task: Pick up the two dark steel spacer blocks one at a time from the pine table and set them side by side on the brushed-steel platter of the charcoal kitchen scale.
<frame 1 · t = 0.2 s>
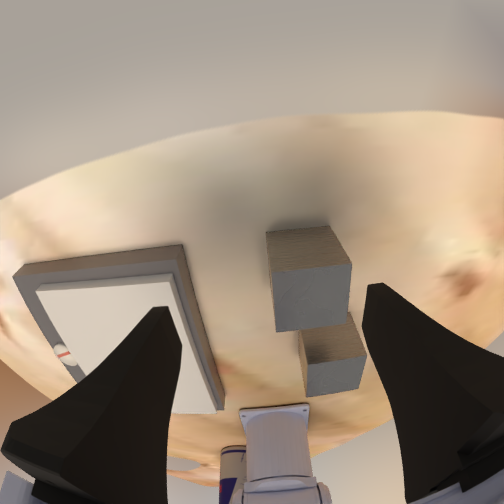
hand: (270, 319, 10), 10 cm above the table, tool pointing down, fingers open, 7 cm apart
energy drink: (238, 450, 37), on the table
spacer one: (323, 333, 25), on the table
kitchen scale: (124, 340, 25), on the table
spacer two: (299, 256, 21), on the table
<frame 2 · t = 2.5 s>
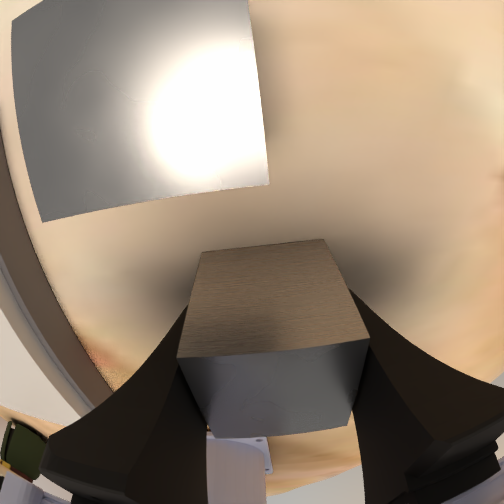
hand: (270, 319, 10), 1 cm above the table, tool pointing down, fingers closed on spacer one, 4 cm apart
spacer one: (268, 295, 12), on the table, touching gripper
character mug: (31, 431, 22), on the table
spacer two: (179, 87, 8), on the table
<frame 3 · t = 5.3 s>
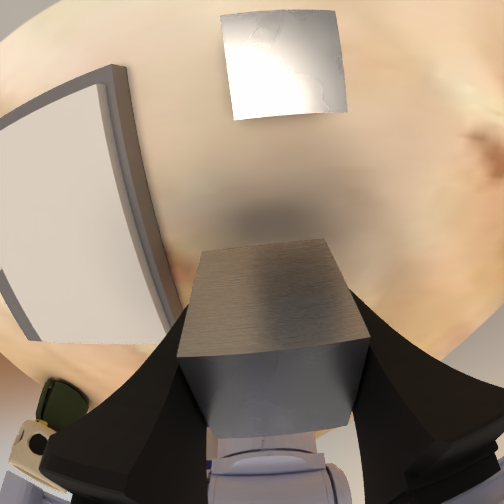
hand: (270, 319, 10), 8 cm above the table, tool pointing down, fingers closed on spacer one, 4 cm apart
energy drink: (219, 426, 30), on the table
spacer one: (268, 294, 12), point 7 cm above the table, touching gripper
character mug: (68, 391, 28), on the table
kitchen scale: (56, 230, 17), on the table
spacer two: (274, 73, 14), on the table
when the fingers open (6 cm above the table, at t = 8.0 s): spacer one drops 1 cm, resting on kitchen scale.
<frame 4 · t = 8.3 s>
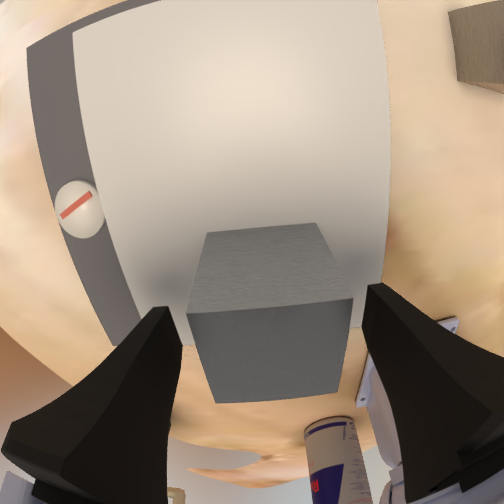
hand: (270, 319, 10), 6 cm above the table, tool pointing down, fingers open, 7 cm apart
energy drink: (328, 426, 26), on the table
spacer one: (265, 273, 13), point 3 cm above the table, touching kitchen scale
kitchen scale: (212, 173, 14), on the table
spacer two: (478, 53, 10), on the table
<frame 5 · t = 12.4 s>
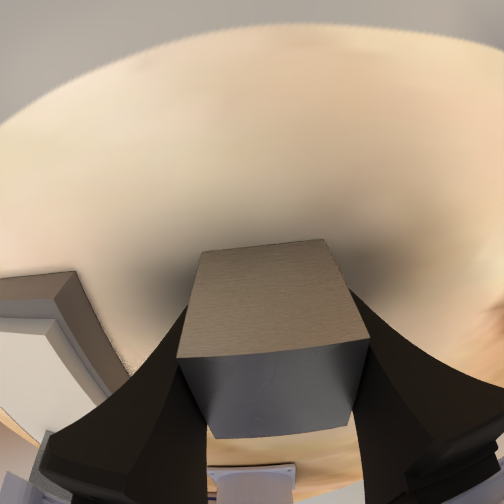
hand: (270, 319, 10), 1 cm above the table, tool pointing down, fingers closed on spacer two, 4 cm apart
energy drink: (216, 495, 28), on the table
spacer one: (83, 450, 15), point 3 cm above the table, touching kitchen scale
kitchen scale: (48, 385, 16), on the table
spacer two: (268, 295, 12), on the table, touching gripper
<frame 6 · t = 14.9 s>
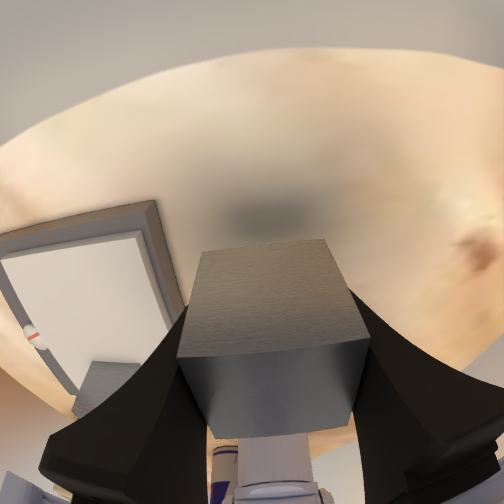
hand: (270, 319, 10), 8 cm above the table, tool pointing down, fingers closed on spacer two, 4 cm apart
energy drink: (232, 451, 34), on the table
spacer one: (125, 379, 21), point 3 cm above the table, touching kitchen scale
kitchen scale: (97, 320, 21), on the table
spacer two: (268, 294, 12), point 7 cm above the table, touching gripper
when the fingers open (6 cm above the table, at t = 17.5 s): spacer two drops 1 cm, resting on kitchen scale.
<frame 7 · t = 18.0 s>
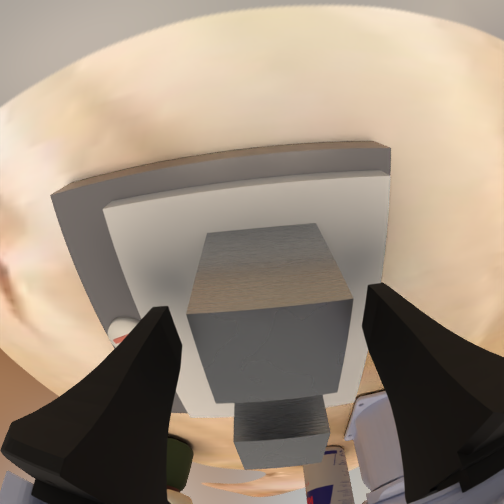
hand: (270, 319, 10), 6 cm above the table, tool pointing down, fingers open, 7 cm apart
energy drink: (322, 452, 30), on the table
spacer one: (276, 382, 17), point 3 cm above the table, touching kitchen scale
character mug: (167, 441, 28), on the table
kitchen scale: (235, 306, 18), on the table
spacer two: (265, 274, 13), point 3 cm above the table, touching kitchen scale
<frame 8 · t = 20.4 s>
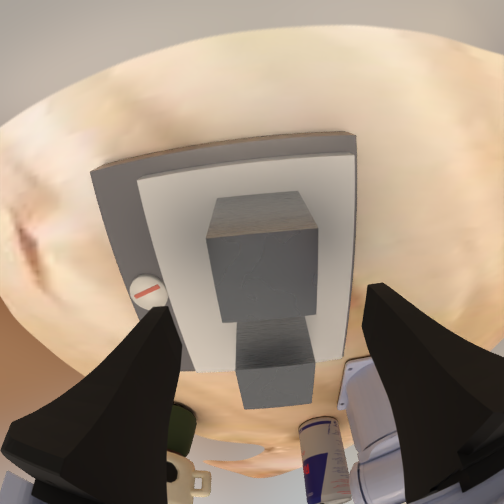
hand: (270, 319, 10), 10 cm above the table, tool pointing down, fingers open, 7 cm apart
energy drink: (317, 424, 34), on the table
spacer one: (271, 332, 21), point 3 cm above the table, touching kitchen scale
character mug: (172, 411, 32), on the table
kitchen scale: (237, 267, 21), on the table
spacer two: (260, 230, 17), point 3 cm above the table, touching kitchen scale
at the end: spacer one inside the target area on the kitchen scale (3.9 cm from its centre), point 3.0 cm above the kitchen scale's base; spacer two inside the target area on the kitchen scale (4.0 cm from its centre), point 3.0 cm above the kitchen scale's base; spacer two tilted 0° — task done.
